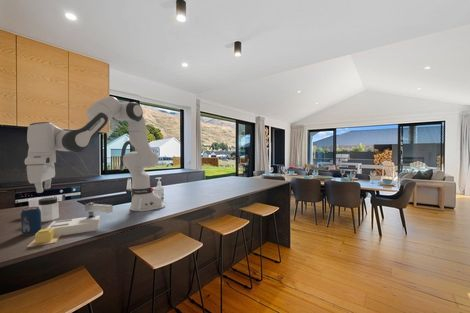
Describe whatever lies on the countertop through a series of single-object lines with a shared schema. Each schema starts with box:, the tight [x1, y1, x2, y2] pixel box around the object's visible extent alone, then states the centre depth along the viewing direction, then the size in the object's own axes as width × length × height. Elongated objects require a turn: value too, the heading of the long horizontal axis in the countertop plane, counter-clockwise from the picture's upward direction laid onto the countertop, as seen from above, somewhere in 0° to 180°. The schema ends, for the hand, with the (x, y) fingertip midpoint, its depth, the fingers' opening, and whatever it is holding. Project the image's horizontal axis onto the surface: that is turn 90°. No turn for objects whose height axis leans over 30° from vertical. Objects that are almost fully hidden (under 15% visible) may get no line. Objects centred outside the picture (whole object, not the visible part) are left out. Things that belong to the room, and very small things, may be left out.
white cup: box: [28, 196, 47, 208], centre depth 128 cm, size 8×8×10 cm
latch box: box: [45, 215, 101, 237], centre depth 104 cm, size 20×12×5 cm, turn 118°
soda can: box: [20, 206, 42, 236], centre depth 100 cm, size 7×7×12 cm
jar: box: [38, 196, 60, 223], centre depth 119 cm, size 9×8×12 cm
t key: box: [84, 202, 114, 217], centre depth 110 cm, size 3×15×7 cm, turn 78°
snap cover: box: [34, 227, 54, 244], centre depth 91 cm, size 5×5×5 cm
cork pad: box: [27, 235, 61, 248], centre depth 91 cm, size 9×9×1 cm
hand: (44, 190), depth 90 cm, fingers open, 8 cm apart
